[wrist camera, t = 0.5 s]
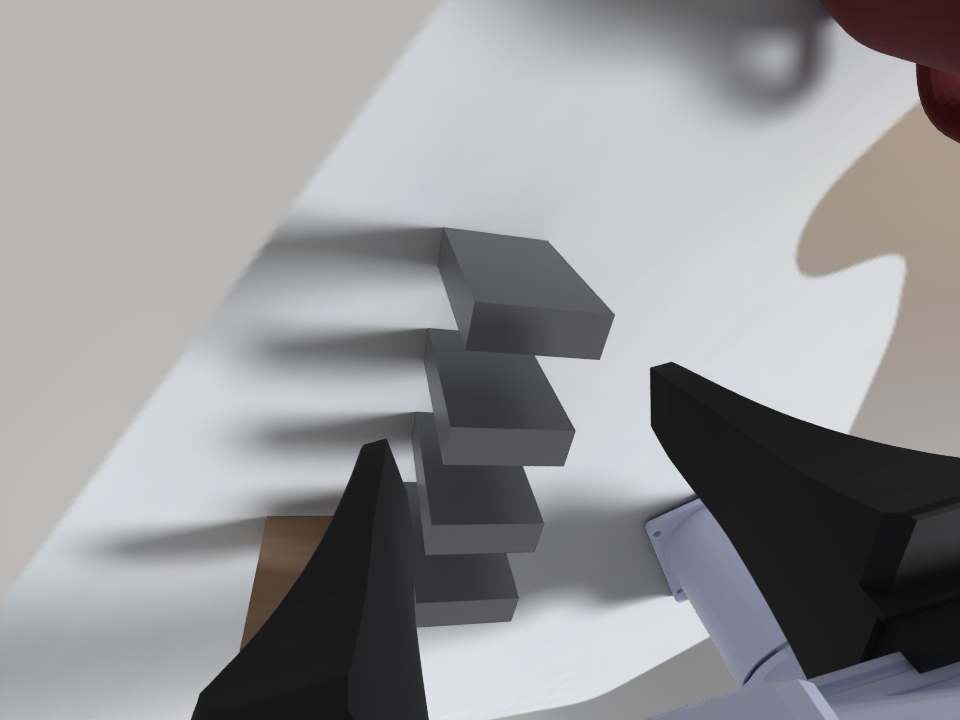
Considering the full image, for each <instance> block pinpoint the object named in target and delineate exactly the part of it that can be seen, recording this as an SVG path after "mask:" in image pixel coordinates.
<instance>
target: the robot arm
mask: <svg viewBox="0 0 960 720" xmlns="http://www.w3.org/2000/svg"><path fill="white" fill-rule="evenodd" d="M650 395H651V427H652V429H653V431H654V433H655V434H656V436H657V438H658V440H659V442H660V444H661V445H662V447H663V449H664V450H665V452H666V454H667V456H668V457H669V459H670V460H671V461H672V463H673V464H674V465H675V467H676V468H677V469H678V471H679V472H680V473H681V475H682V476H683V477H684V479H685V480H686V481H687V483H688V484H689V485H690V487H691V488H692V489H693V491H694V492H695V493H696V495H697V496H698V497H699V498H698V499H696V500H694V501H692V502H690V503H687V504H685V505H683V506H681V507H679V508H676V509H674V510H672V511H670V512H668V513H665V514H663V515H661V516H659V517H657V518H654V519H652V520H650V521H649V522H648V523H647V524H646V526H645V529H646V531H647V533H648V536H649V538H650V541H651V543H652V545H653V548H654V550H655V553H656V555H657V557H658V560H659V562H660V565H661V567H662V569H663V572H664V574H665V577H666V579H667V581H668V584H669V586H670V589H671V591H672V593H673V596H674V598H675V600H676V601H677V602H684V601H687V600H689V601H690V602H691V604H692V606H693V608H694V609H695V611H696V613H697V614H698V616H699V618H700V620H701V621H702V623H703V625H704V627H705V628H706V630H707V632H708V633H709V635H710V637H711V639H712V640H713V642H714V644H715V645H716V647H717V649H718V651H719V652H720V654H721V656H722V658H723V659H724V661H725V663H726V664H727V666H728V668H729V670H730V671H731V673H732V675H733V676H734V678H735V679H736V682H737V683H738V685H739V687H740V689H738V690H735V691H732V692H729V693H726V694H723V695H719V696H716V697H713V698H710V699H706V700H703V701H700V702H697V703H693V704H690V705H687V706H684V707H680V708H677V709H674V710H671V711H667V712H664V713H661V714H658V715H654V716H651V717H649V718H647V719H645V720H960V458H958V457H952V456H945V455H938V454H932V453H926V452H921V451H916V450H911V449H906V448H901V447H896V446H891V445H887V444H882V443H878V442H874V441H870V440H866V439H862V438H859V437H854V436H851V435H847V434H844V433H840V432H837V431H833V430H830V429H827V428H823V427H821V426H818V425H815V424H812V423H809V422H806V421H803V420H800V419H797V418H794V417H791V416H789V415H786V414H783V413H781V412H778V411H776V410H774V409H771V408H769V407H766V406H764V405H761V404H759V403H757V402H755V401H752V400H750V399H748V398H746V397H743V396H741V395H739V394H737V393H735V392H733V391H731V390H728V389H726V388H724V387H722V386H720V385H718V384H716V383H714V382H712V381H710V380H708V379H706V378H704V377H702V376H700V375H698V374H696V373H694V372H692V371H690V370H688V369H686V368H684V367H682V366H680V365H678V364H675V363H673V362H669V363H666V364H662V365H658V366H655V367H651V368H650ZM191 720H429V718H428V711H427V705H426V697H425V690H424V683H423V676H422V668H421V661H420V653H419V645H418V637H417V629H416V618H415V596H414V559H413V529H412V521H411V514H410V508H409V501H408V495H407V491H406V489H405V486H404V483H403V481H402V478H401V475H400V473H399V470H398V467H397V465H396V462H395V460H394V457H393V454H392V452H391V449H390V446H389V444H388V441H387V439H383V440H379V441H376V442H372V443H368V444H364V445H363V446H362V448H361V450H360V453H359V456H358V459H357V461H356V464H355V467H354V469H353V472H352V475H351V477H350V480H349V482H348V485H347V487H346V489H345V492H344V494H343V496H342V498H341V501H340V503H339V505H338V507H337V510H336V512H335V514H334V516H333V518H332V520H331V522H330V524H329V526H328V527H327V529H326V531H325V533H324V535H323V537H322V539H321V541H320V543H319V545H318V546H317V548H316V550H315V552H314V553H313V555H312V557H311V558H310V560H309V562H308V563H307V565H306V566H305V568H304V570H303V571H302V573H301V574H300V576H299V577H298V579H297V580H296V582H295V583H294V584H293V586H292V587H291V589H290V590H289V592H288V593H287V595H286V596H285V597H284V599H283V600H282V602H281V603H280V604H279V606H278V607H277V608H276V610H275V611H274V612H273V613H272V615H271V616H270V617H269V618H268V620H267V621H266V622H265V623H264V625H263V626H262V627H261V628H260V629H259V631H258V632H257V633H256V634H255V635H254V637H253V638H252V639H251V640H250V641H249V642H248V644H247V645H246V646H245V647H244V648H243V649H242V650H241V651H240V652H239V654H238V655H237V656H236V657H235V658H234V659H233V660H232V661H231V662H230V663H229V664H228V665H227V666H226V667H225V668H224V669H223V670H222V671H221V672H220V673H219V675H218V676H217V677H216V678H215V679H214V680H213V681H212V682H211V683H210V684H209V685H208V686H207V687H206V688H205V689H204V690H203V691H202V692H201V693H200V695H199V698H198V701H197V704H196V707H195V710H194V712H193V715H192V718H191Z"/></svg>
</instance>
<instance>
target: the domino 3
mask: <svg viewBox="0 0 960 720" xmlns="http://www.w3.org/2000/svg"><path fill="white" fill-rule="evenodd" d="M424 365H425V370H426V375H427V381H428V386H429V391H430V396H431V402H432V407H433V412H434V418H435V423H436V428H437V434H438V439H439V444H440V449H441V455H442V460H443V465H498V466H564V464H565V461H566V458H567V455H568V452H569V449H570V446H571V443H572V440H573V437H574V434H575V429H574V427H573V425H572V423H571V422H570V420H569V418H568V416H567V414H566V412H565V411H564V409H563V407H562V405H561V403H560V401H559V400H558V398H557V396H556V394H555V392H554V390H553V389H552V387H551V385H550V383H549V381H548V379H547V378H546V376H545V374H544V372H543V370H542V369H541V367H540V365H539V363H538V361H537V359H536V358H535V356H534V355H523V354H509V353H495V352H481V351H467V350H465V348H464V345H463V342H462V339H461V336H460V333H459V331H456V330H443V329H430V328H428V334H427V341H426V347H425V354H424Z"/></svg>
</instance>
